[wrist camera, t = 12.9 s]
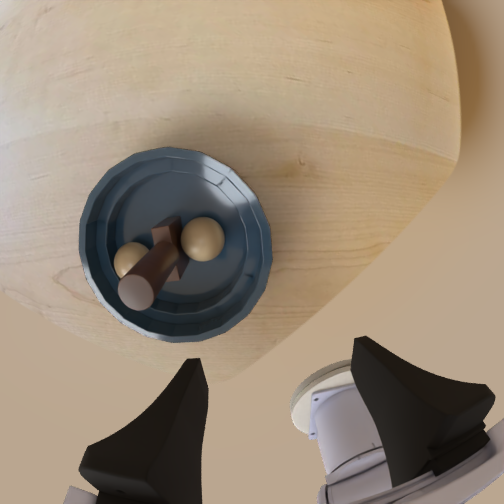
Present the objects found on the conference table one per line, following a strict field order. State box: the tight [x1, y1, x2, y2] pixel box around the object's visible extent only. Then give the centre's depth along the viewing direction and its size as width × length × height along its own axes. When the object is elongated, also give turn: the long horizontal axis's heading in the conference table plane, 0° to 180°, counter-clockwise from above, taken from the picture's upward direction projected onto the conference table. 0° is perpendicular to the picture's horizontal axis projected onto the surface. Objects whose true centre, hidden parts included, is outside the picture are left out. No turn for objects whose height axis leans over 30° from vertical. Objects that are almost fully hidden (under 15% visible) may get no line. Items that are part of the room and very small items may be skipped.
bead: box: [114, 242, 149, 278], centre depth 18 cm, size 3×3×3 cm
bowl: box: [79, 147, 273, 343], centre depth 18 cm, size 13×13×4 cm
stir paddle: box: [118, 216, 189, 311], centre depth 15 cm, size 4×2×9 cm, turn 7°
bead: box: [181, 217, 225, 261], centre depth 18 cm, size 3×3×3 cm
